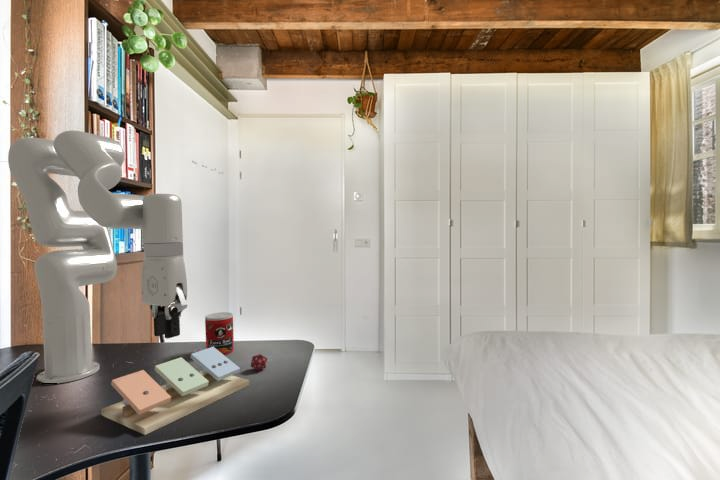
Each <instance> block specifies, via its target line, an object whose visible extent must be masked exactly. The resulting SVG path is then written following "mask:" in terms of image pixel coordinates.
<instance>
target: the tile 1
mask: <svg viewBox="0 0 720 480" xmlns="http://www.w3.org/2000/svg"><path fill="white" fill-rule="evenodd" d="M110 385H111V386H112V387H113V388H114V389H115V391H116V392H117V393H118V394H119V395H120V396H121V398H123V399H122V401H123V403H124V405H125V406H126V405H130V406H131V407H132V408H133V409H134V410H135V411H136V412H137V413H138V414H139V415H140V414H142V413H144V412H147V411H149V410H151V409H154V408H156V407H158V406H161V405H163V404H165V403H168V402H170V401H171V396H170V395H169V394H168V393H167V392H166V391H165V390H164V389H163V388H162V387H161V386H162V385H160V384H159V383H157V381H156V380H155V379H153V377H152V376H150V375H149V374H148V373H147V372H146V370H144V369H141V370H138V371H135V372H132V373H130V374H125V375H123V376H120V377H117V378H114V379H112V380H111V383H110Z"/></svg>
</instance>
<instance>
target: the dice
mask: <svg viewBox="0 0 720 480" xmlns="http://www.w3.org/2000/svg"><path fill="white" fill-rule="evenodd" d="M267 361H268V357H266V356H263V355H262V354H261V353H259V354H257V355H253V356H252V357H251V362H250V367H251V368H253V369H254V370H256V371H262V370H263V369H266V367H267V363H268V362H267Z"/></svg>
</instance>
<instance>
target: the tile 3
mask: <svg viewBox="0 0 720 480" xmlns="http://www.w3.org/2000/svg"><path fill="white" fill-rule="evenodd" d="M190 359H191V360H193V361H194V362H195V363H196V364H197V365H199V366H200V367H201V368H202V369H201V371H202V373H203V374H204V375H205V374H207V373H209V374H210V375H211V376H212V377H213V378H215V379H216V380H217V381H219V380H222V379H224V378H226V377H229V376H231V375H232V376H234V375H236V374H238V373H240V371H241V367H239V366H238V365H237V364H236V363H235V362H233V361H232V360H231V359H229V358H228V357H227V356H226V355H223V354H222V353H221V352H219V351H218V350H217V349H216V348H214V347H211V348H208V349H206V348H205V349H201V350H199V351H195V352H192V353H190Z"/></svg>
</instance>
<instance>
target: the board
mask: <svg viewBox="0 0 720 480" xmlns="http://www.w3.org/2000/svg"><path fill="white" fill-rule="evenodd" d="M198 372H199V373H200V374H201V375H202V376H203V377H205V378H206V379H207V380H208V381H209V383H208V386H205V387H203V388H201V389H198V390H196V391H193V392H191V393H189V394H186V395H184V396H181V395H180V394H179V393H178V392H177V391H176V390H175V389H174V388H173V387H172V388H169V389H168V388H167V387H166V384H163V385H160V386H161V387H162V388H163V389H164V390H165V391H166V392H167V393H168V394H169V395H170V396H171V401H170V402H168V403H165V404H163V405H161V406H158V407H156V408H154V409H151V410H149V411H147V412H144V413H142V414H140V415H139V414H138V413H137V412H136V411H135V410H134V409H133V408H132V407H131V406H130V405H126V406H125V405H124V403H123V400H122V401H119V402H117V403H114V404H111V405H108V406H106V407H103V408H101V409H100V412H101V413H100V414H101V416H103V417H104V418H106V419H109V420H111V421H113V422H116V423H117V424H120V425H122V426H124V427H127V428H128V429H130V430H133V431H135V432H137V433H140V434H142V435H144V436H146V435H148V434H150V433H152V432H154V431H156V430H158V429H161V428H162V427H163V428H164V427H165V426H167V425H169V424H171V423H174V422H175V421H177V420H179V419H182V418H184V417H185V416H188V415H190V414H192V413H194V412H196V411H198V410H200V409H203V408H205V407H207V406H209V405H211V404H213V403H215V402H217V401H219V400H221V399H223V398H225V397H227V396H230V395H231V394H233V393H235V392H238V391H240V390H242V389H243V388H246V387H248V386H250V380H249V379H247V378H243V377H239V376H235V375H231V376H229V377H226V378H224V379H222V380H219V381H217V380H216V379H215V378H213V377H212V376H211V375H210V374H209V373H207V374H205V375H204V374H203V373H202V370H200V371H198Z"/></svg>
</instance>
